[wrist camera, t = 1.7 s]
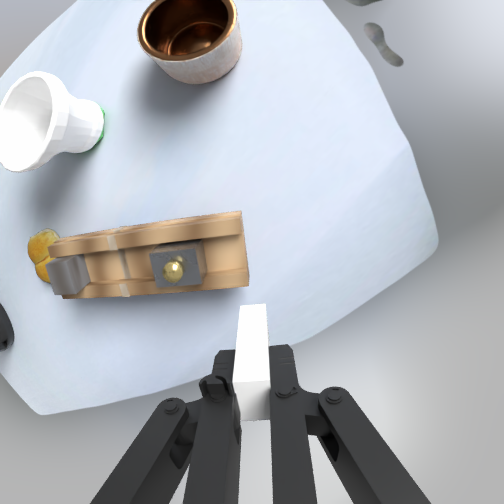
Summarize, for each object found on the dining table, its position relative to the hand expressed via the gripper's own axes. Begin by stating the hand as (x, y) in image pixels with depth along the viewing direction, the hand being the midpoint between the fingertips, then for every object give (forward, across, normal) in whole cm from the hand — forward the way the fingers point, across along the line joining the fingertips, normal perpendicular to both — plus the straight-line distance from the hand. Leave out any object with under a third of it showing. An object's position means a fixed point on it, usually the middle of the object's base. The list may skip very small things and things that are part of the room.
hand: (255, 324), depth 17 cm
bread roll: (+22, -34, +1) cm, 41 cm away
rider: (+15, -8, 0) cm, 17 cm away
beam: (+22, -14, 0) cm, 26 cm away
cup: (+22, -22, +19) cm, 36 cm away
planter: (+22, -4, +26) cm, 34 cm away
